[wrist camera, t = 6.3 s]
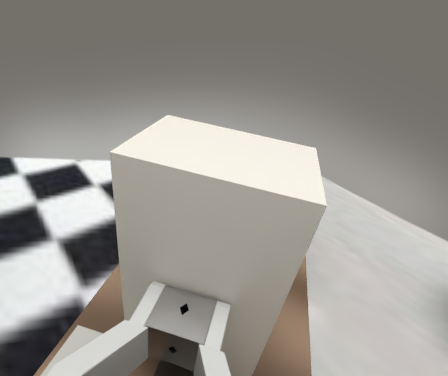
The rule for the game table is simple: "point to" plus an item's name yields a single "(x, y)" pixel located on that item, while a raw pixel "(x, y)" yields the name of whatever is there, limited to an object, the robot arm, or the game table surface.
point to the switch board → (167, 372)
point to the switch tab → (216, 222)
